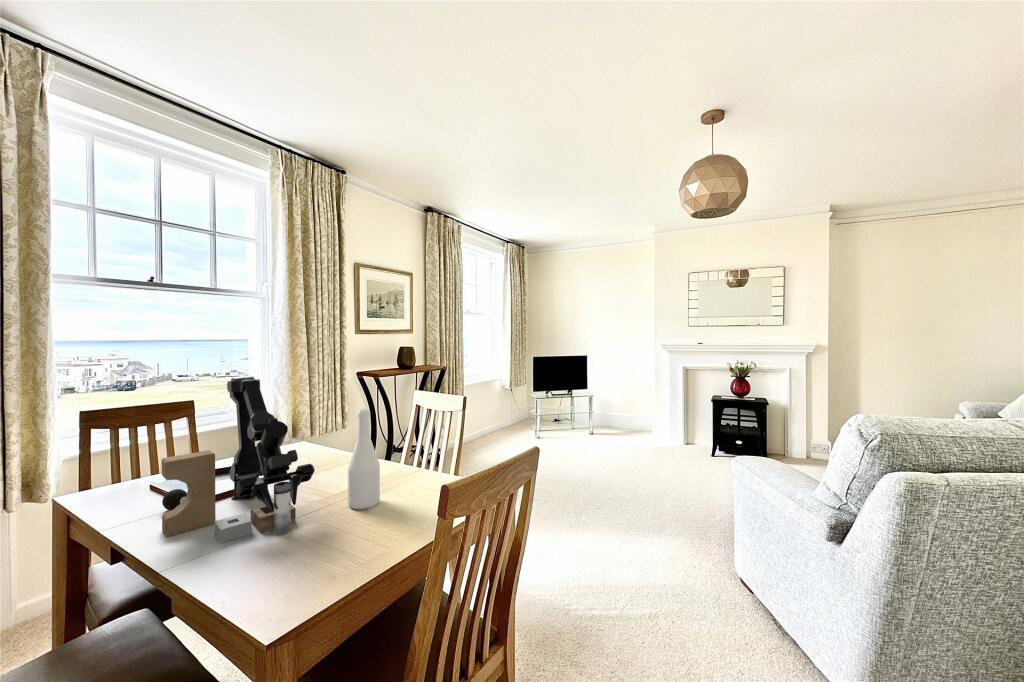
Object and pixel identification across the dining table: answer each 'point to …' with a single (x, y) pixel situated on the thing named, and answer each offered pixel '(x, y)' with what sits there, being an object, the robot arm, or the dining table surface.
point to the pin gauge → (282, 508)
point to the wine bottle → (363, 468)
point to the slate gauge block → (232, 527)
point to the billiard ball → (173, 498)
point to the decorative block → (191, 492)
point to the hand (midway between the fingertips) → (284, 507)
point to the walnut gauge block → (266, 517)
